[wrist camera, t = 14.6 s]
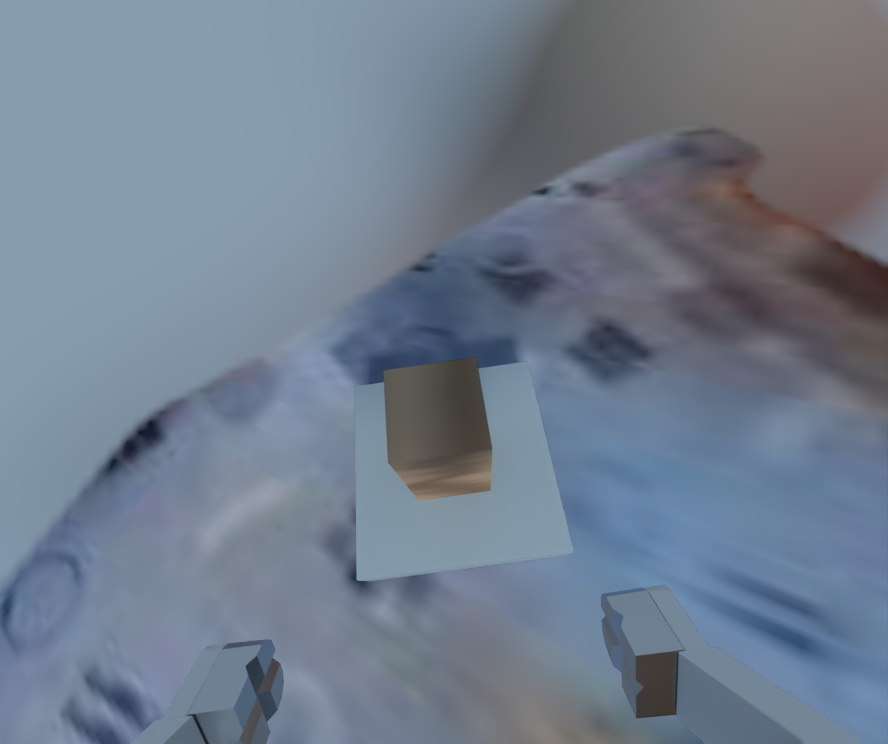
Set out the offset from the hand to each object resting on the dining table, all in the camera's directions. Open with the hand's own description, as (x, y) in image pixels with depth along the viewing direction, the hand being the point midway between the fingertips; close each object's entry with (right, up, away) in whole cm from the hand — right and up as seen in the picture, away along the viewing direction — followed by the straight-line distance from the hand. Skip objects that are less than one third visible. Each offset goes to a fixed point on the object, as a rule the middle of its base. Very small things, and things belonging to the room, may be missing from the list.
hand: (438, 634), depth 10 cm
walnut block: (+1, 0, +19) cm, 19 cm away
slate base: (+1, -2, +23) cm, 23 cm away
